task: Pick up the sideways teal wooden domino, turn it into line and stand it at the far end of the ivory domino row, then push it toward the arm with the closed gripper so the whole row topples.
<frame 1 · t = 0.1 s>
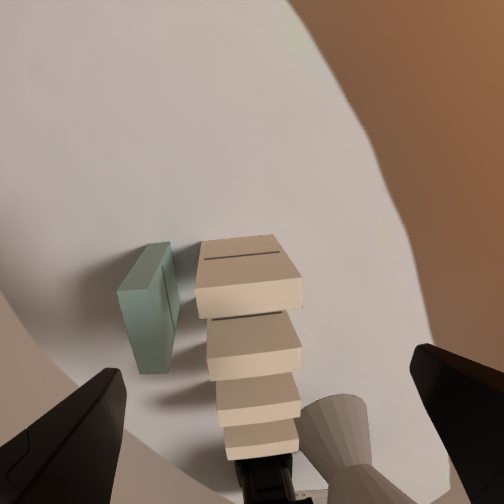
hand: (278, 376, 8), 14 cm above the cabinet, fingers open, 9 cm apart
end domino: (250, 380, 26), on the cabinet
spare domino: (164, 275, 22), on the cabinet
supplement box: (300, 499, 35), on the cabinet
domino c: (243, 299, 24), on the cabinet
domino b: (238, 248, 22), on the cabinet
domino d: (247, 343, 25), on the cabinet
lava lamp: (328, 421, 29), on the cabinet
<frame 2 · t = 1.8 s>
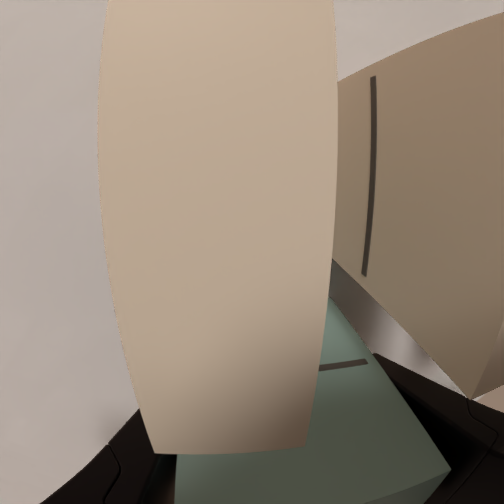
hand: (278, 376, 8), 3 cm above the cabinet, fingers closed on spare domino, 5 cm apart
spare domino: (263, 320, 11), on the cabinet, touching gripper
domino c: (338, 167, 10), on the cabinet
domino b: (217, 165, 10), on the cabinet
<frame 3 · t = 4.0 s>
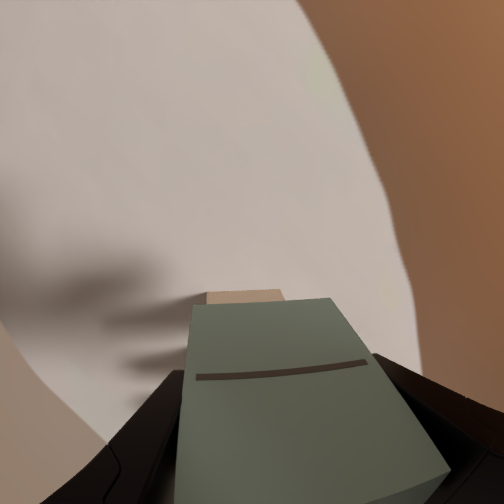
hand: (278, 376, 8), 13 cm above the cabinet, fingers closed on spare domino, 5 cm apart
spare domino: (263, 321, 11), point 10 cm above the cabinet, touching gripper
domino b: (243, 301, 22), on the cabinet
when the fingers open (4 cm above the cabinet, at t = 6.0 s): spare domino stays where it is, on the cabinet.
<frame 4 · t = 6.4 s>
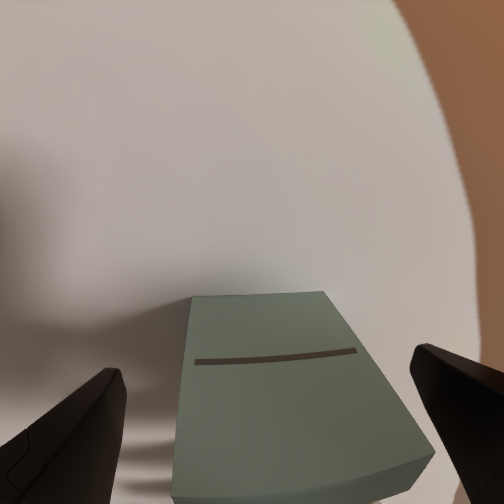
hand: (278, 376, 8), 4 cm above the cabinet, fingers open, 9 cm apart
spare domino: (259, 313, 12), on the cabinet
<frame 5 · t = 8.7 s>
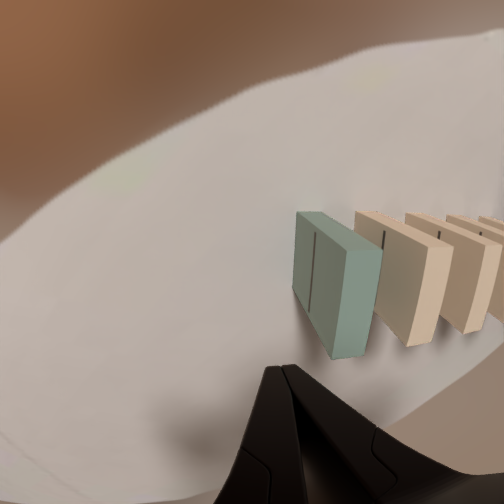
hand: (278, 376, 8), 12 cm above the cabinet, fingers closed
end domino: (480, 245, 22), on the cabinet
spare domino: (306, 250, 20), on the cabinet
domino c: (410, 247, 21), on the cabinet
domino b: (363, 248, 20), on the cabinet
domino d: (449, 246, 21), on the cabinet
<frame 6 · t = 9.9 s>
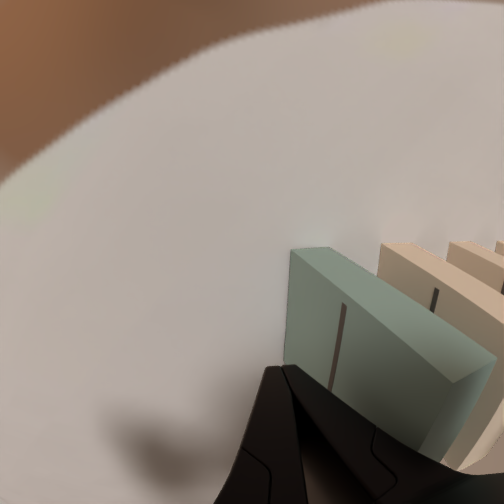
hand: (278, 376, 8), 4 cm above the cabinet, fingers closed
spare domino: (305, 307, 13), on the cabinet, tilted 8°
domino c: (451, 289, 14), on the cabinet
domino b: (388, 297, 13), on the cabinet
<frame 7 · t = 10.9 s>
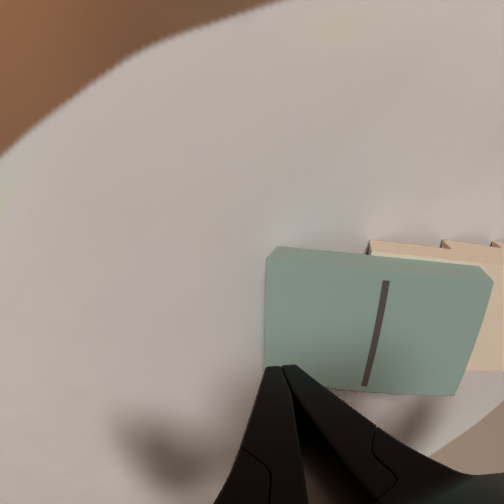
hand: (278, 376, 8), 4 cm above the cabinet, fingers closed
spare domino: (270, 315, 12), point 1 cm above the cabinet, tilted 66°, touching domino b
domino c: (436, 296, 13), point 1 cm above the cabinet, tilted 66°, touching domino d
domino b: (362, 303, 12), point 1 cm above the cabinet, tilted 66°, touching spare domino
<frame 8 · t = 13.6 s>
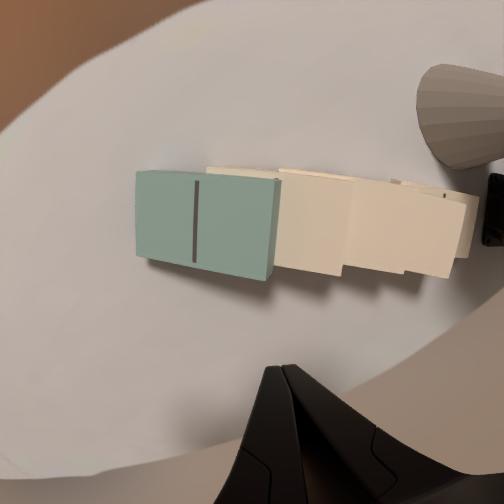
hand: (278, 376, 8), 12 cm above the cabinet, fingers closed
end domino: (390, 215, 20), point 1 cm above the cabinet, tilted 89°, touching domino d
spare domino: (143, 212, 18), point 1 cm above the cabinet, tilted 66°
domino c: (278, 209, 19), point 1 cm above the cabinet, tilted 66°, touching domino b, domino d
domino b: (210, 208, 19), point 1 cm above the cabinet, tilted 66°, touching domino c
domino d: (341, 215, 19), point 1 cm above the cabinet, tilted 69°, touching domino c, end domino
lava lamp: (456, 116, 19), on the cabinet
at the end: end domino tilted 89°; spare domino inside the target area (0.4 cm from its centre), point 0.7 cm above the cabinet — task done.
